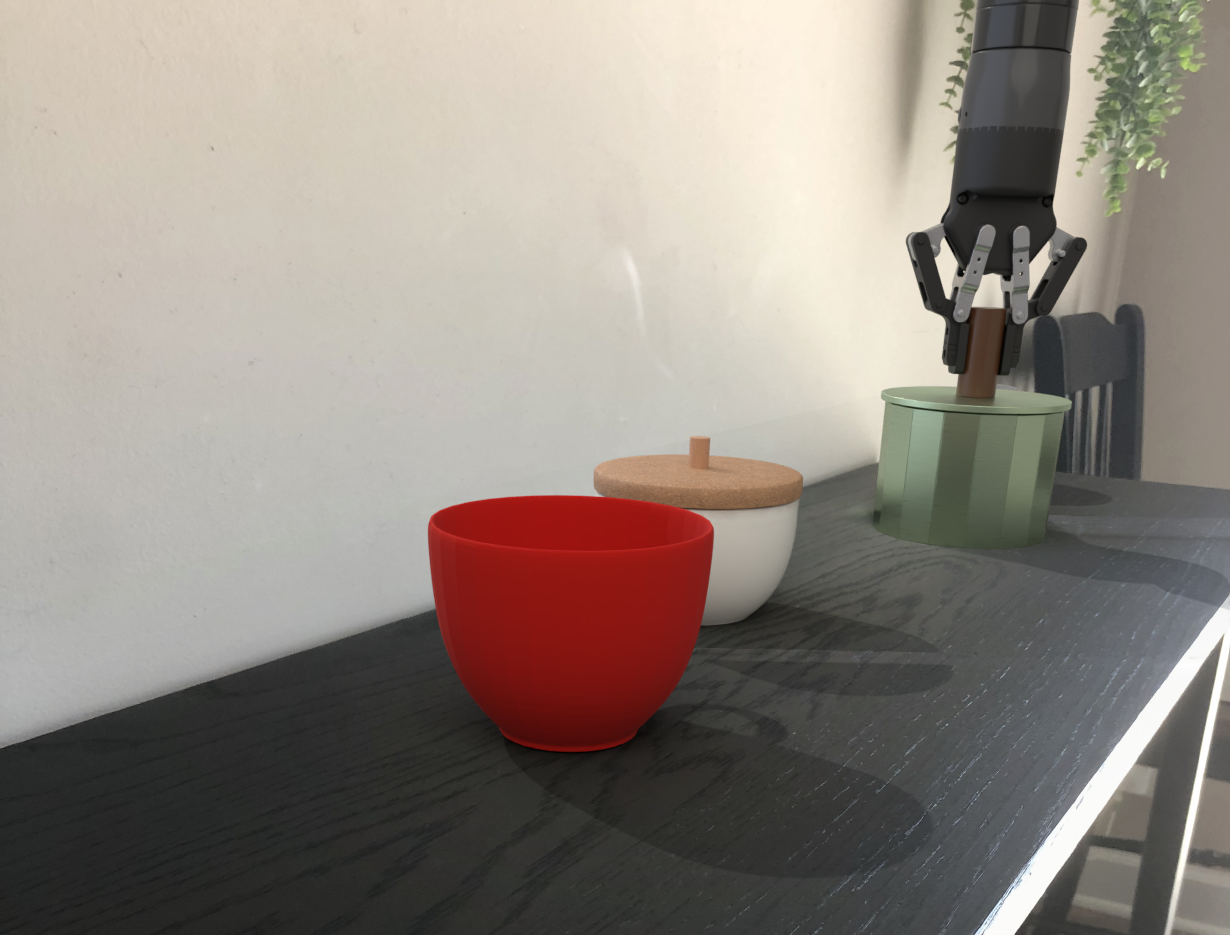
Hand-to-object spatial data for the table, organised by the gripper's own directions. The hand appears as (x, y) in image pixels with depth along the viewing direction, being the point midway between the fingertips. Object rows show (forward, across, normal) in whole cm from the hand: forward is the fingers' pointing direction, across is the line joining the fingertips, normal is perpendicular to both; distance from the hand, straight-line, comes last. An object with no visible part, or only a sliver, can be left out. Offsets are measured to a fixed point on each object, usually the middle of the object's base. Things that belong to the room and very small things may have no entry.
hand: (978, 372), depth 104 cm
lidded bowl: (+13, -24, -27) cm, 38 cm away
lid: (+2, 0, 0) cm, 2 cm away
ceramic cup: (+13, -31, -46) cm, 57 cm away
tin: (+13, 0, 0) cm, 13 cm away
